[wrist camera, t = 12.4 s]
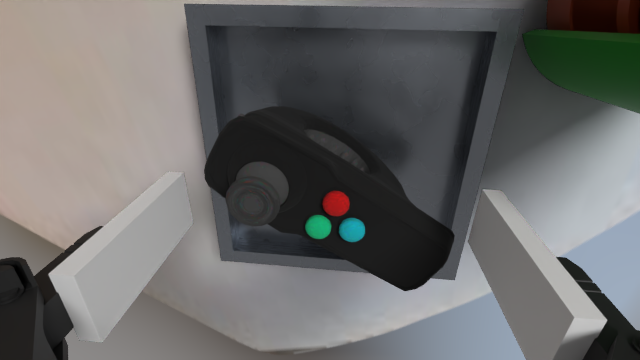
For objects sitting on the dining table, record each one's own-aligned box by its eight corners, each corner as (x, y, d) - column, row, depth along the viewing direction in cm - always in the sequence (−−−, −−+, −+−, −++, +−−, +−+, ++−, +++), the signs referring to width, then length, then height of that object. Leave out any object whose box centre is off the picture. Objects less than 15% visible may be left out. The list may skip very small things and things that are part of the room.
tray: (203, 5, 20) (184, 3, 17) (503, 10, 18) (524, 9, 16) (232, 240, 27) (221, 260, 25) (446, 257, 26) (454, 280, 23)
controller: (274, 72, 20) (205, 117, 11) (437, 177, 22) (493, 288, 13) (244, 130, 22) (163, 209, 13) (397, 222, 24) (421, 347, 15)
